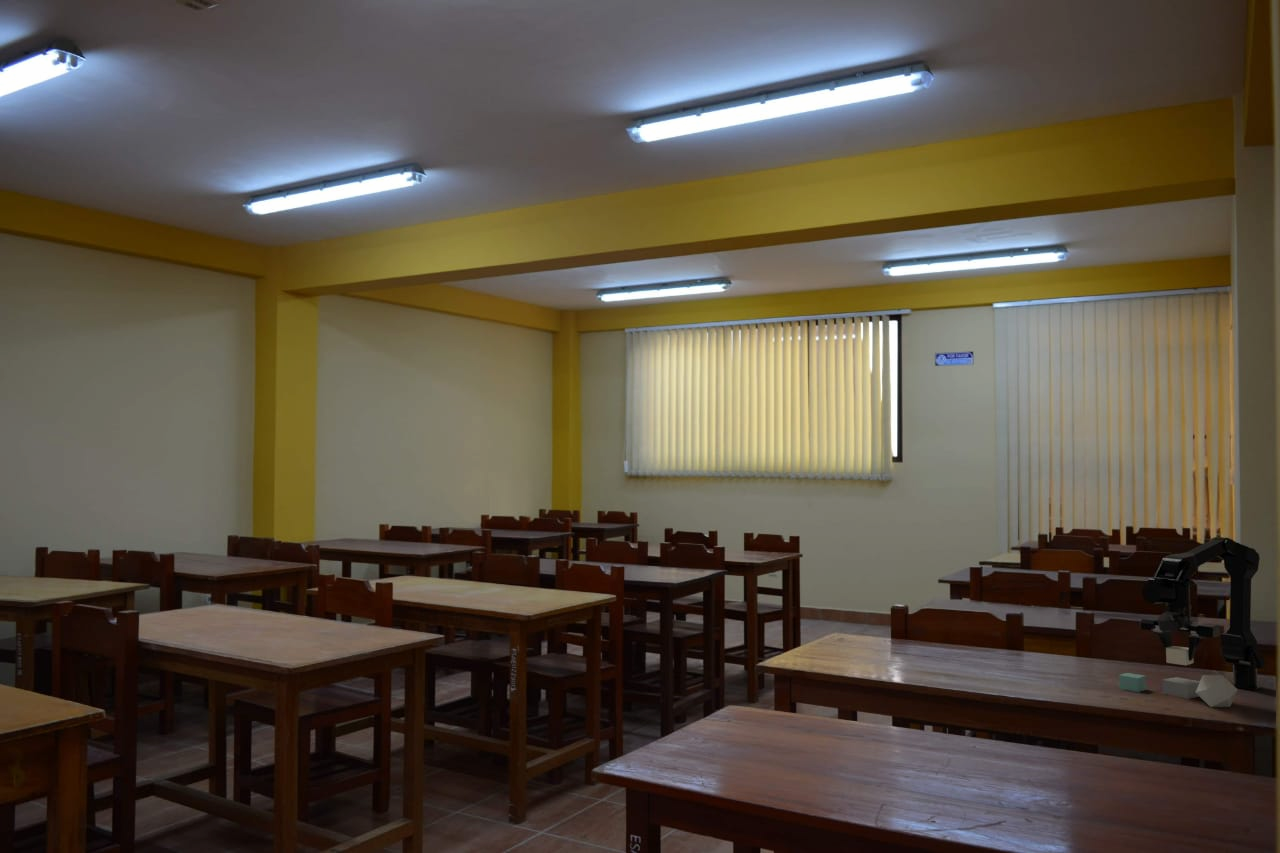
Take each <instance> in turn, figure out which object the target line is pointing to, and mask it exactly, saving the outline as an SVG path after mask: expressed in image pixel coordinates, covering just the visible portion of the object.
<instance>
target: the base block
mask: <svg viewBox="0 0 1280 853" xmlns="http://www.w3.org/2000/svg"><path fill="white" fill-rule="evenodd" d="M1199 683H1200V680H1195V679H1194V680H1193V679H1188V678H1184V677H1178V676H1175V677H1169V678H1165V679H1164V678H1162V679H1161V684H1162V685H1161V687H1162V688H1161V693H1162V694H1163V695H1167V694H1168V696H1173V697H1177V698H1182V699H1189V700H1190V699H1192V698H1198V697H1200V696H1199V695H1198V694H1197V693H1196V690H1197V687H1198V685H1199Z"/></svg>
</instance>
